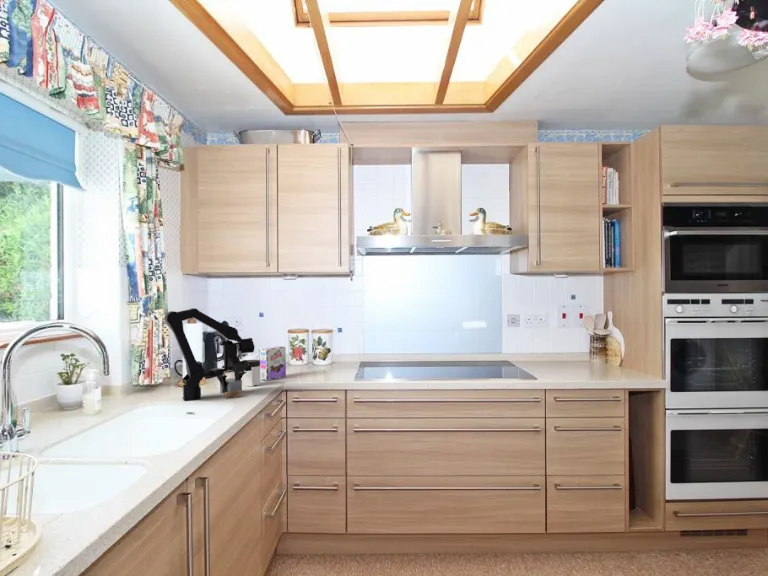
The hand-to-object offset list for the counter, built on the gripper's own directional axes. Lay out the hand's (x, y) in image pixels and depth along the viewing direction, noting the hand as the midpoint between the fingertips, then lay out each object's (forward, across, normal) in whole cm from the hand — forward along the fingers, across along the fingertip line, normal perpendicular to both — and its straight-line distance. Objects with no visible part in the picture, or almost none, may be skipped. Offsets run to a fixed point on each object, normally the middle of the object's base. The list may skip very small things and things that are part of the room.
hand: (231, 388), depth 207 cm
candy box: (+2, +34, +13) cm, 36 cm away
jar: (+2, +17, +8) cm, 19 cm away
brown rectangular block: (+2, -4, -8) cm, 9 cm away
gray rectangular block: (+2, 0, 0) cm, 2 cm away
